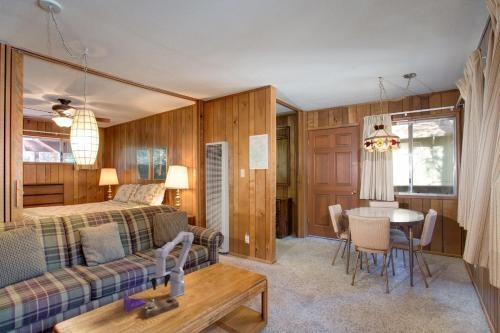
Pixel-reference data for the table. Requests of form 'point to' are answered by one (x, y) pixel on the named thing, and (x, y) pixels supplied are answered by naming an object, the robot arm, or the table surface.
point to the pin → (151, 303)
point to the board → (160, 307)
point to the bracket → (133, 303)
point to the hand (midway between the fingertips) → (160, 288)
